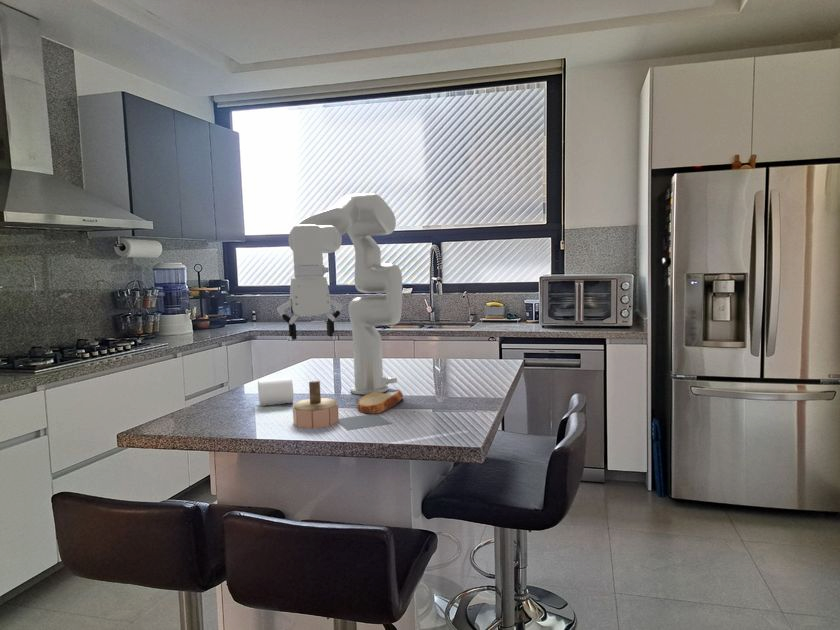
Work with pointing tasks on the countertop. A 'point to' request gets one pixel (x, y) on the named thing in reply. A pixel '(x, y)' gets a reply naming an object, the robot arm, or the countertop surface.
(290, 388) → the mug
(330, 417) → the bowl
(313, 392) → the lid
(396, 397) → the bread slice
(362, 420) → the mat
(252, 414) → the countertop surface
